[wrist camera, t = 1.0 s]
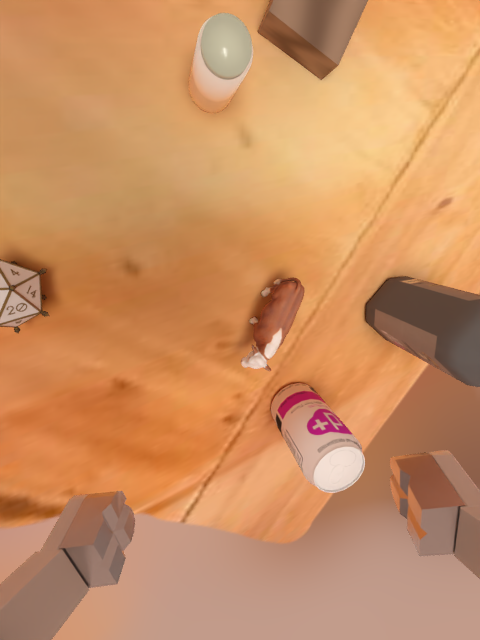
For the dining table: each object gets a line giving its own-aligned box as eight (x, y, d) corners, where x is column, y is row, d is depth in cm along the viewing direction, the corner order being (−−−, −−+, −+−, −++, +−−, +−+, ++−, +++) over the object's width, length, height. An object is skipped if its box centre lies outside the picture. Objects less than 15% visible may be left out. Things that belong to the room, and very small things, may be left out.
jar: (181, 97, 36) (188, 57, 27) (199, 51, 35) (212, -7, 26) (221, 121, 37) (240, 92, 28) (239, 78, 36) (264, 33, 27)
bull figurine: (227, 346, 47) (240, 372, 39) (273, 266, 44) (296, 277, 37) (252, 357, 48) (268, 384, 41) (297, 280, 46) (324, 293, 38)
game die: (39, 267, 41) (61, 249, 34) (43, 333, 41) (66, 328, 34) (-55, 260, 35) (-52, 236, 28) (-52, 337, 35) (-48, 333, 27)
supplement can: (277, 378, 50) (321, 440, 37) (321, 384, 53) (378, 444, 39) (263, 421, 52) (300, 496, 39) (307, 425, 55) (356, 496, 41)
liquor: (388, 343, 53) (633, 482, 26) (355, 313, 50) (596, 435, 22) (425, 301, 52) (720, 398, 25) (394, 267, 49) (696, 336, 21)
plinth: (257, 31, 35) (268, 10, 32) (293, -58, 34) (310, -92, 30) (321, 79, 38) (338, 65, 35) (357, -1, 37) (379, -25, 33)
